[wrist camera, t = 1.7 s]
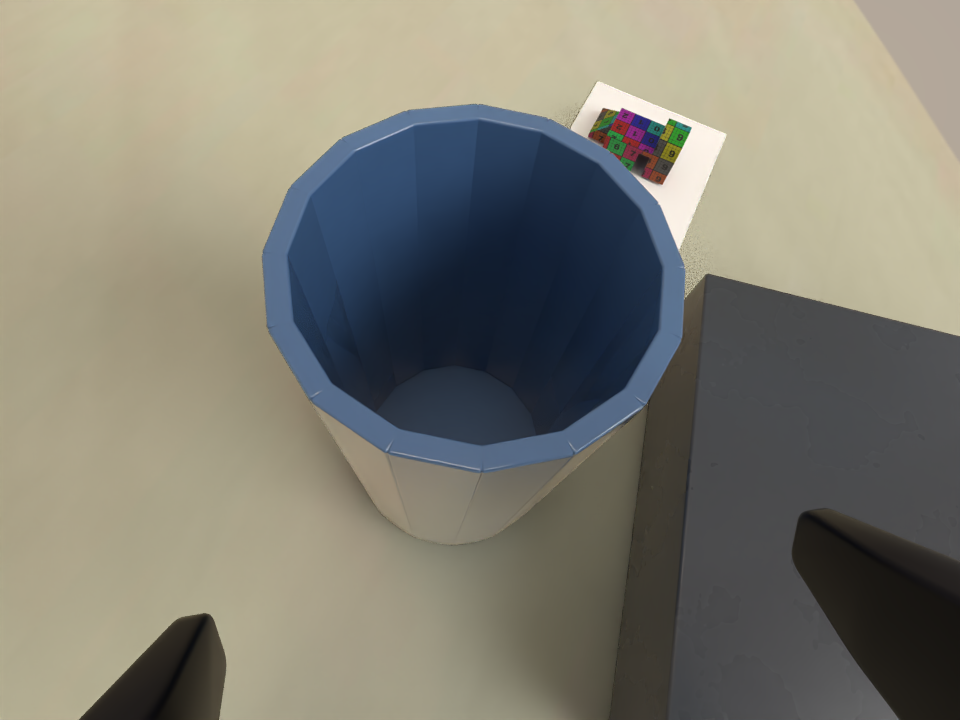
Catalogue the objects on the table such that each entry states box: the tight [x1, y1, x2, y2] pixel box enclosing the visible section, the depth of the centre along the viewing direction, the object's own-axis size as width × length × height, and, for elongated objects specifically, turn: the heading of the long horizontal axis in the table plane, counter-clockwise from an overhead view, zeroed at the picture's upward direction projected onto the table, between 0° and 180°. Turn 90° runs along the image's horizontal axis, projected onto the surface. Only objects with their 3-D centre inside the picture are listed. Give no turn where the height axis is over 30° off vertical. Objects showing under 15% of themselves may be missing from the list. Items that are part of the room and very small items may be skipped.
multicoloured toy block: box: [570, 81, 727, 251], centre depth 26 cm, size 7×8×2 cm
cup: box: [262, 104, 685, 545], centre depth 15 cm, size 7×7×12 cm
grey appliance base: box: [610, 274, 960, 720], centre depth 18 cm, size 15×12×4 cm
